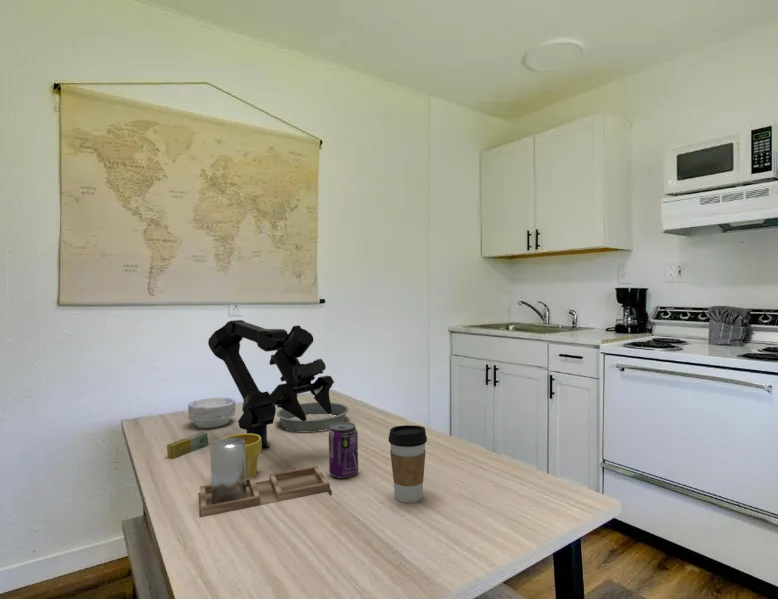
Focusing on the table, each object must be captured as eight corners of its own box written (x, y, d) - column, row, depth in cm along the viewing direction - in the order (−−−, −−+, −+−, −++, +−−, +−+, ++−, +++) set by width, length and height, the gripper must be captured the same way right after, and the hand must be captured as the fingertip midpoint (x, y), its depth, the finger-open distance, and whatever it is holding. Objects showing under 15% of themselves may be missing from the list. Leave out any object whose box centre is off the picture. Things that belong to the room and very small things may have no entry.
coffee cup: (416, 509, 93) (415, 436, 92) (382, 499, 97) (380, 430, 97) (434, 493, 100) (433, 425, 100) (401, 485, 104) (400, 420, 104)
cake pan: (362, 418, 160) (362, 406, 160) (318, 438, 139) (317, 424, 139) (309, 410, 173) (309, 398, 173) (261, 427, 152) (260, 414, 152)
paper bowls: (245, 421, 159) (244, 399, 158) (207, 433, 146) (206, 409, 146) (217, 416, 167) (216, 394, 167) (179, 427, 154) (178, 403, 154)
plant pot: (209, 481, 109) (208, 441, 108) (247, 468, 116) (246, 430, 116) (232, 493, 102) (231, 450, 102) (271, 478, 110) (270, 438, 110)
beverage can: (353, 480, 107) (352, 430, 107) (325, 479, 109) (324, 429, 108) (361, 469, 114) (360, 422, 114) (334, 467, 116) (333, 420, 115)
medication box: (202, 444, 136) (201, 431, 136) (208, 445, 135) (208, 432, 135) (166, 458, 125) (166, 444, 125) (173, 459, 124) (172, 445, 124)
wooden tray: (198, 497, 100) (198, 486, 100) (318, 475, 111) (317, 465, 111) (199, 522, 89) (199, 509, 89) (331, 495, 100) (331, 484, 100)
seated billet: (211, 495, 99) (209, 440, 99) (244, 489, 102) (243, 436, 101) (212, 509, 92) (210, 450, 92) (248, 502, 95) (246, 445, 95)
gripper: (278, 352, 111) (308, 405, 105) (330, 346, 126) (359, 392, 120) (256, 379, 116) (284, 431, 110) (309, 370, 131) (336, 416, 125)
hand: (318, 416), depth 116 cm, fingers open, 9 cm apart
